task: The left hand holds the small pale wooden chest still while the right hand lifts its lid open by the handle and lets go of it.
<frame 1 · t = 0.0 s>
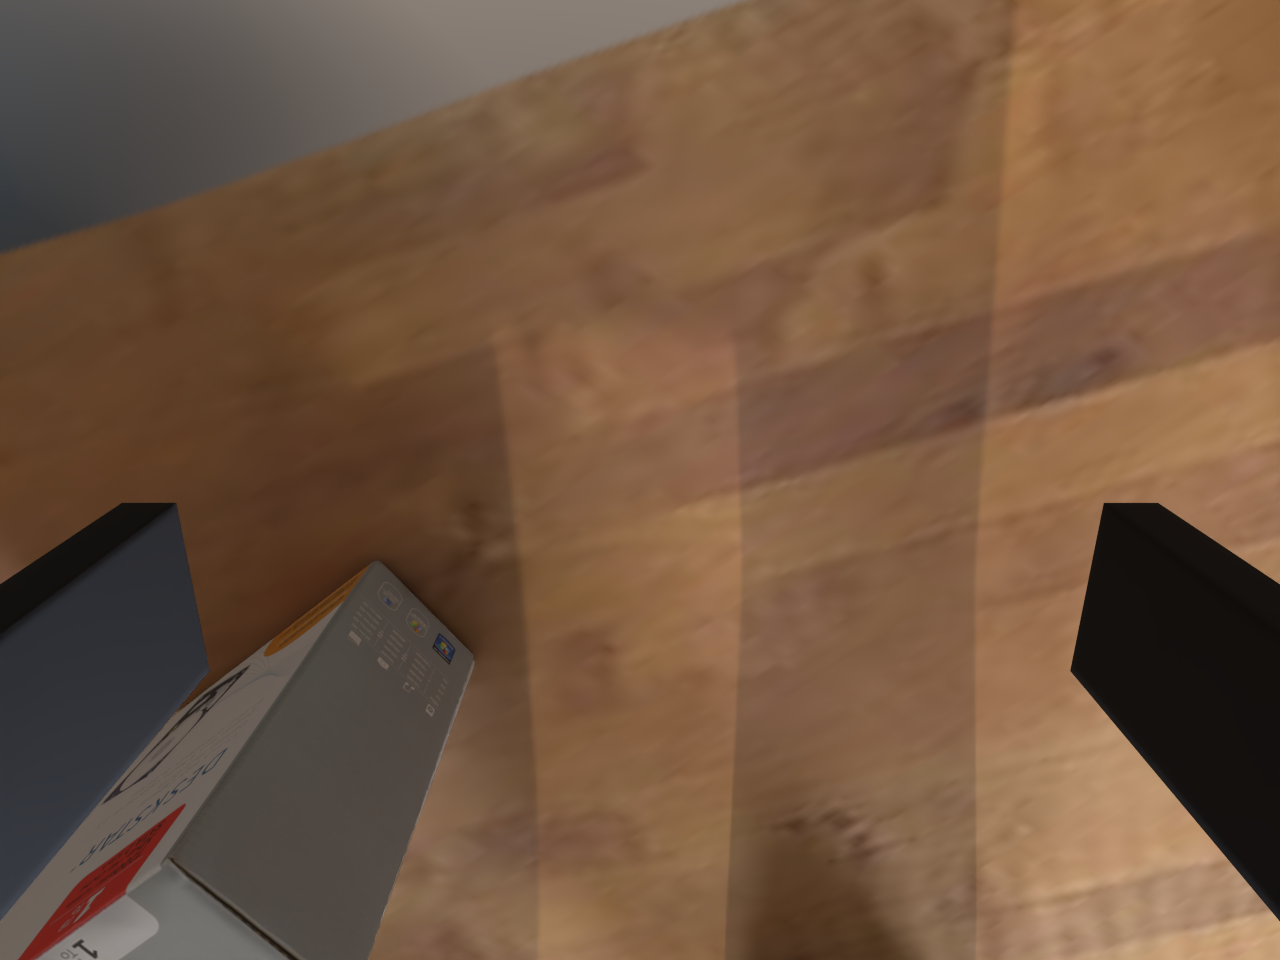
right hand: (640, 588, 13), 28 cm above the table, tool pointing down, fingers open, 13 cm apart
hard drive box: (323, 684, 46), on the table
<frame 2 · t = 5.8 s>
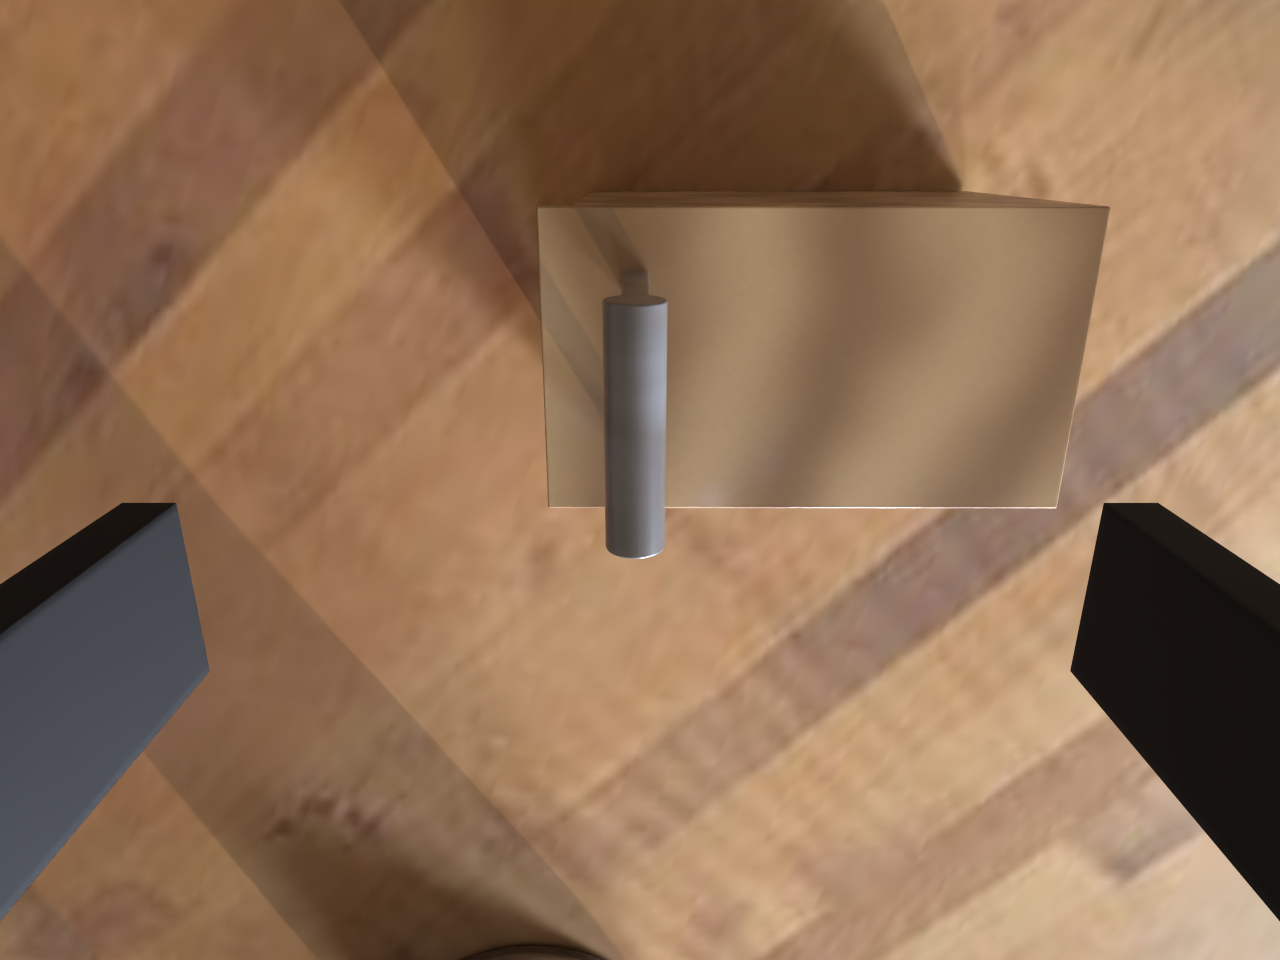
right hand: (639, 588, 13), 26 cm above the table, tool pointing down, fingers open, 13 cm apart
chest: (773, 305, 37), on the table
lid: (833, 393, 23), point 14 cm above the table, hinge at 0.0°
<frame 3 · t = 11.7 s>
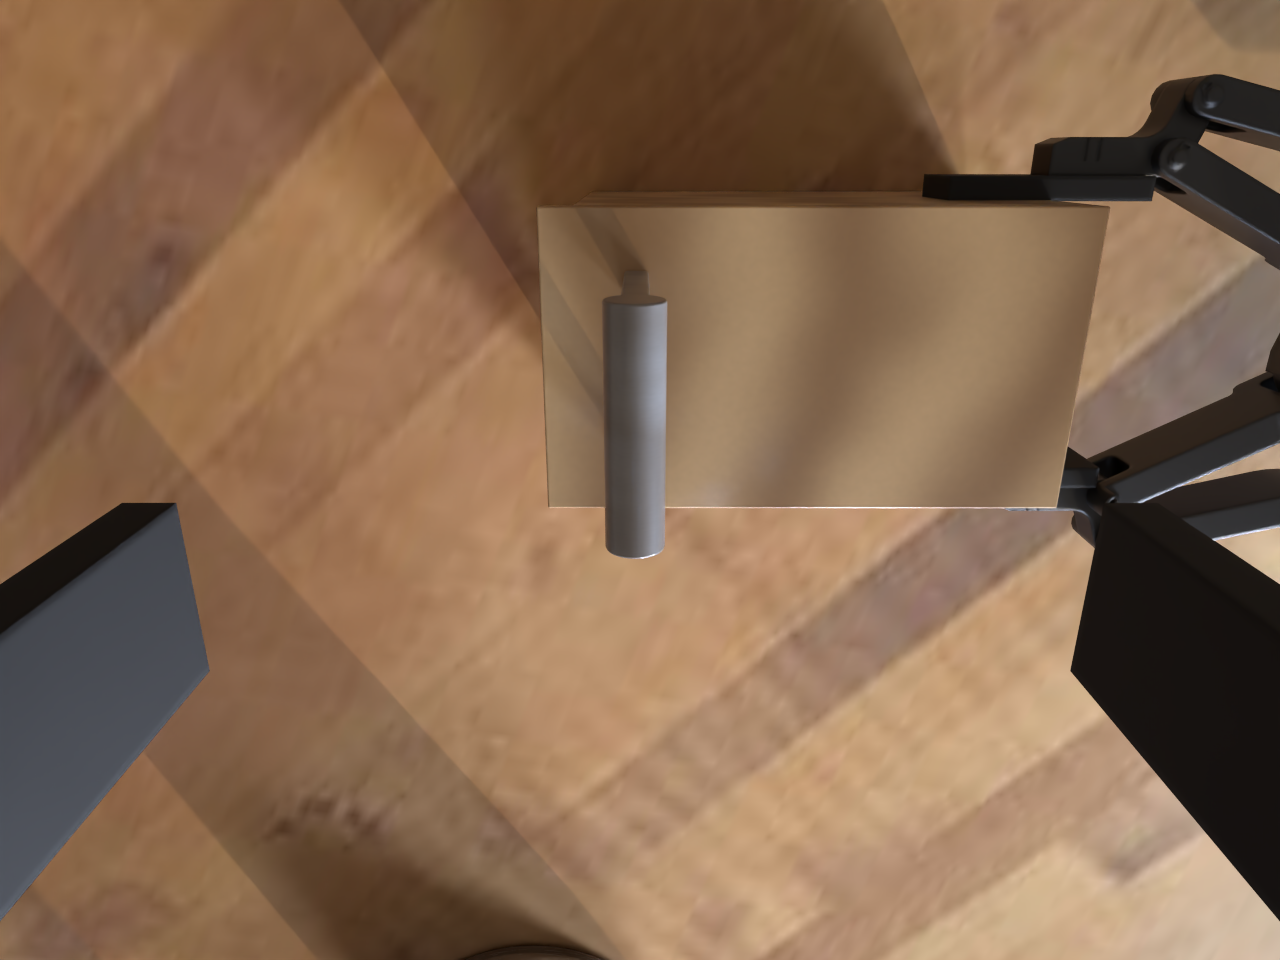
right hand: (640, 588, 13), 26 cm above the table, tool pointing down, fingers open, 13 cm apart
left hand: (919, 334, 31), fingers closed on chest, 9 cm apart
chest: (773, 305, 37), on the table, touching left hand
lid: (833, 393, 23), point 14 cm above the table, hinge at 0.0°
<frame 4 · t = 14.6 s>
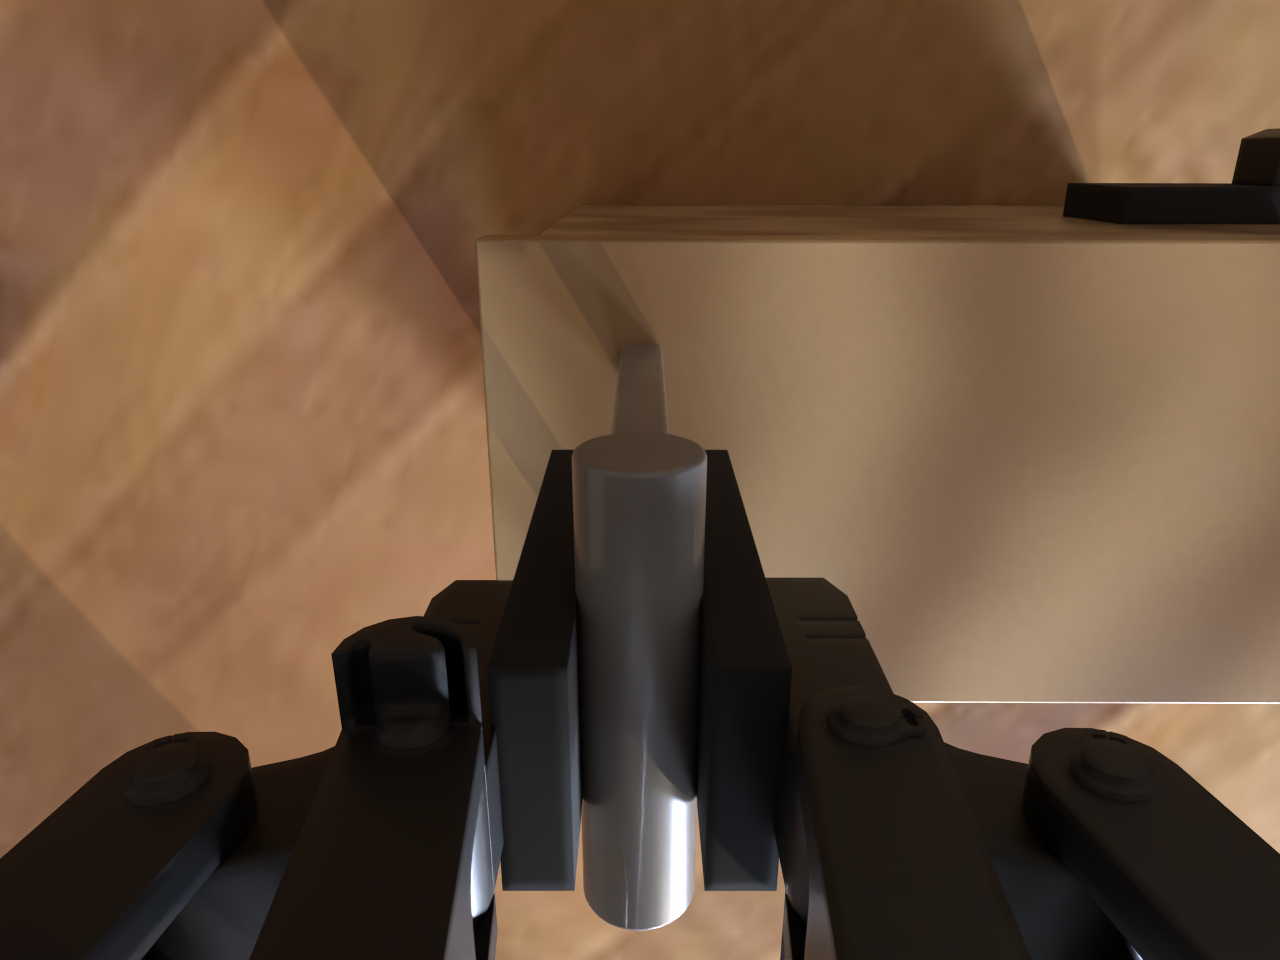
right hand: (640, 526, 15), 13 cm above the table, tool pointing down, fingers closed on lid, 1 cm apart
chest: (827, 360, 27), on the table, touching left hand
lid: (985, 568, 13), point 14 cm above the table, hinge at 0.0°, touching right hand
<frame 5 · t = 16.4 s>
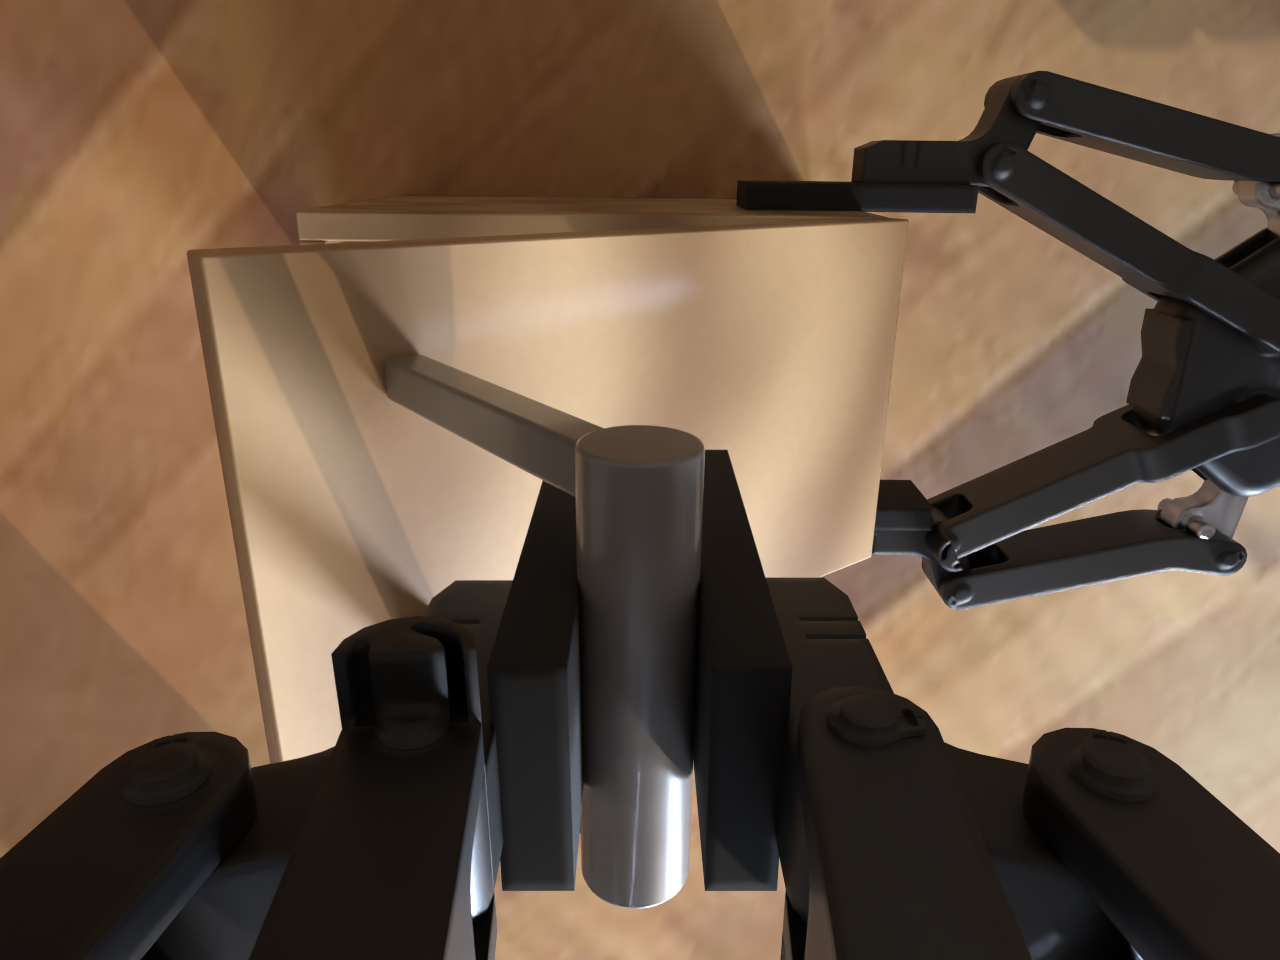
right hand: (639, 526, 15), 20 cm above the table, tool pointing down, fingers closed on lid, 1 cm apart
left hand: (733, 358, 28), fingers closed on chest, 9 cm apart
chest: (608, 321, 33), on the table, touching left hand
lid: (754, 501, 16), point 19 cm above the table, hinge at 38.0°, touching right hand
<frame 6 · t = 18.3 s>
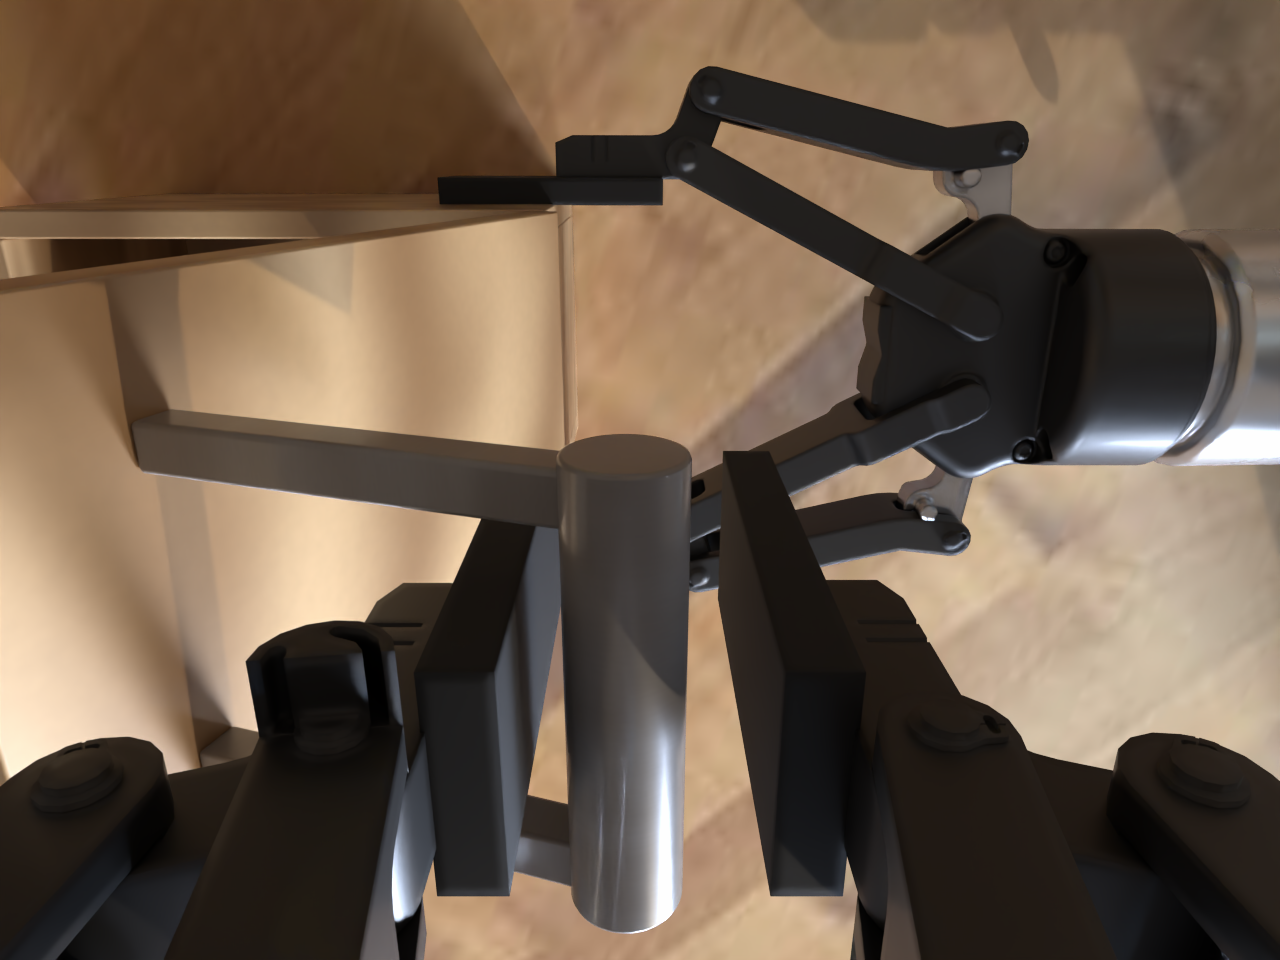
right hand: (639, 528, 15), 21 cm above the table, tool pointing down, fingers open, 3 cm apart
left hand: (459, 349, 28), fingers closed on chest, 9 cm apart
chest: (382, 315, 34), on the table, touching left hand
lid: (549, 502, 16), point 20 cm above the table, hinge at 71.8°
when the left hand's fingers open (6 cm above the table, at t = 22.2 s): chest stays where it is, on the table.
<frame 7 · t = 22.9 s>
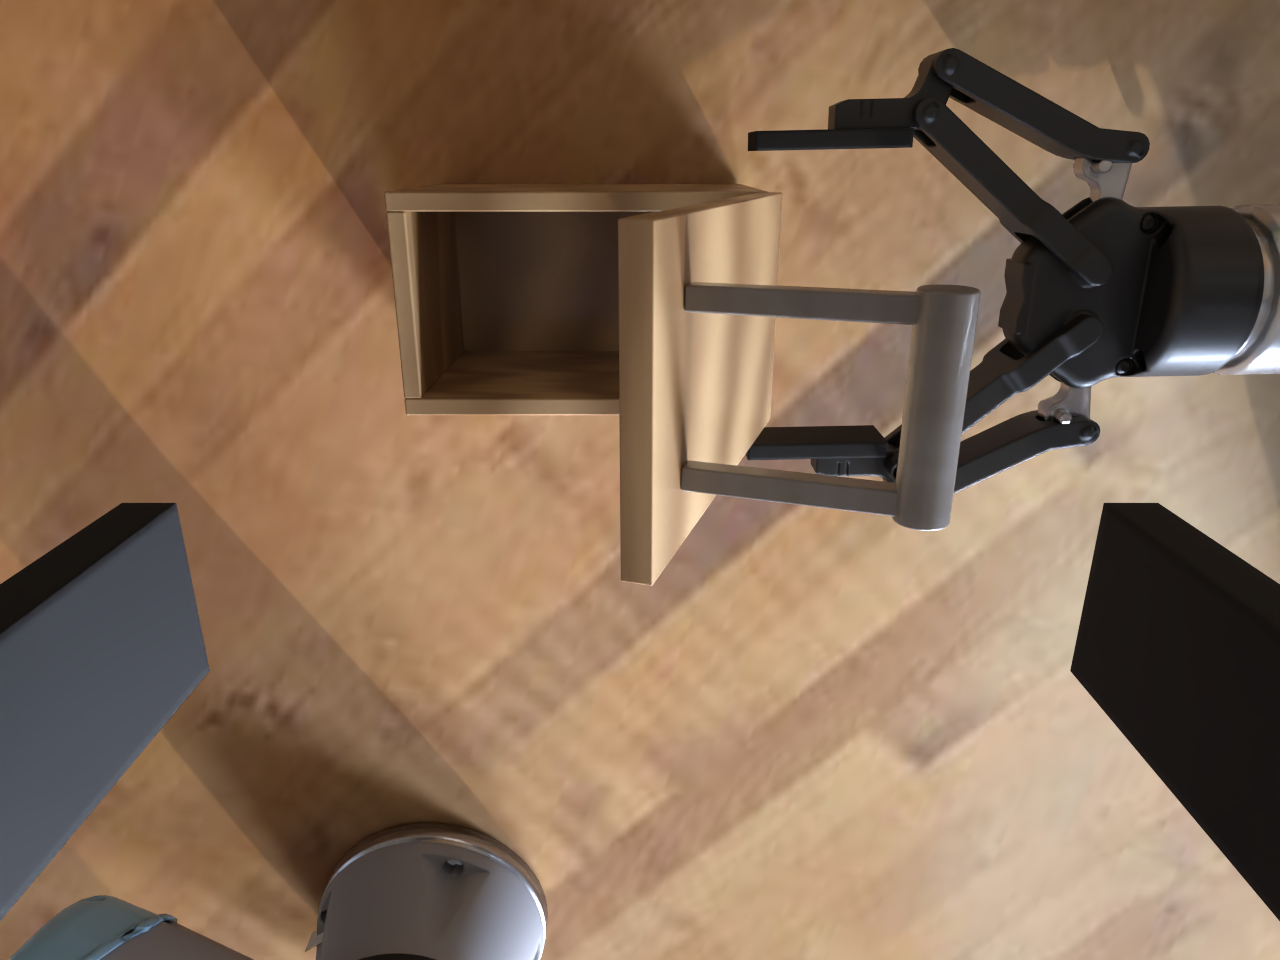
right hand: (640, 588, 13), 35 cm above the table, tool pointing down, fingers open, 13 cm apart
left hand: (746, 301, 40), fingers open, 13 cm apart
chest: (592, 275, 45), on the table
lid: (827, 357, 27), point 20 cm above the table, hinge at 71.2°
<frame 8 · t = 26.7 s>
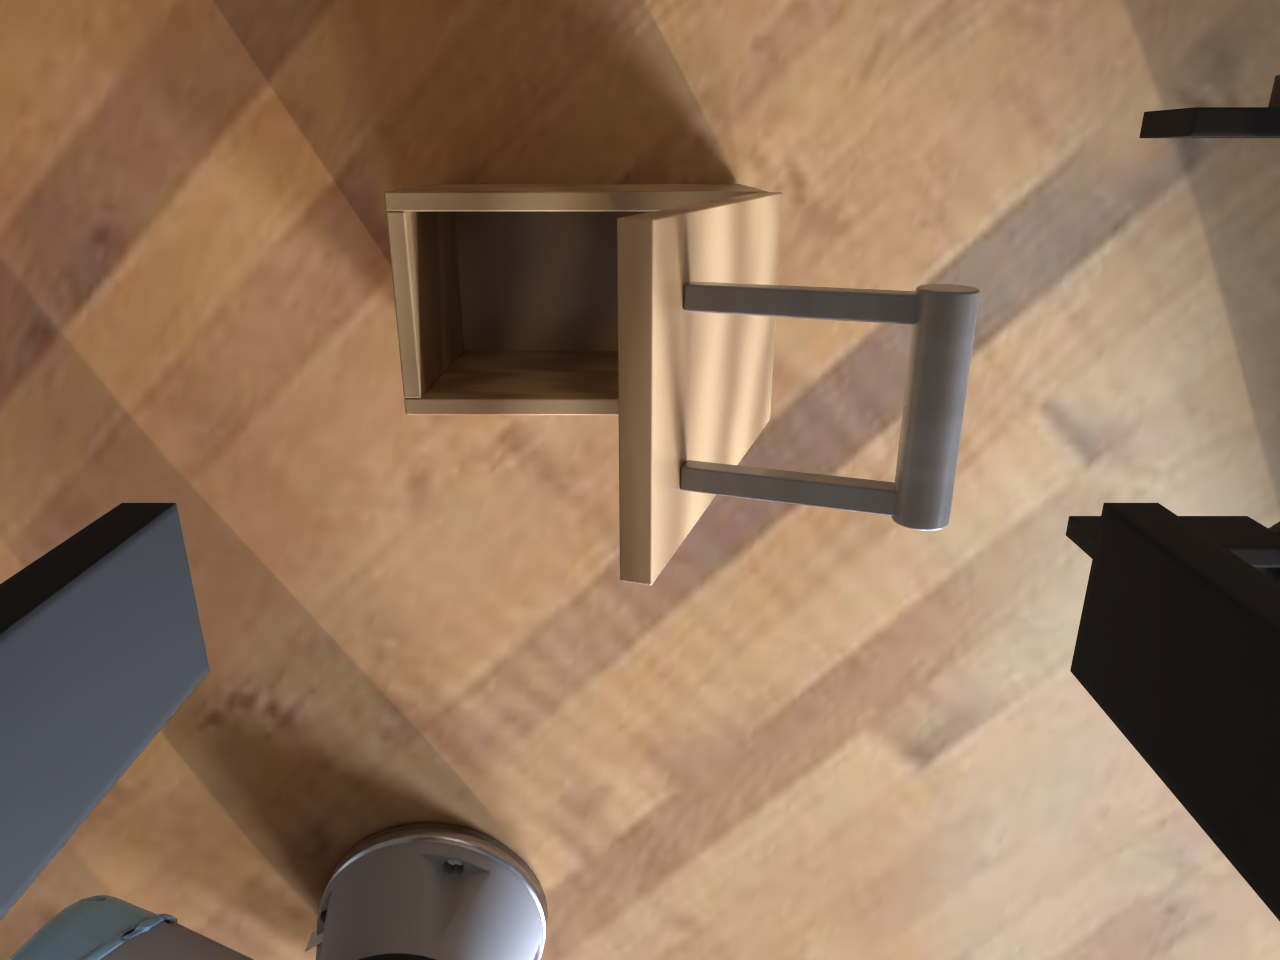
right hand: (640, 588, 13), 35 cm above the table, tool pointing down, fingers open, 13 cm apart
chest: (592, 275, 45), on the table
lid: (827, 357, 27), point 20 cm above the table, hinge at 71.2°
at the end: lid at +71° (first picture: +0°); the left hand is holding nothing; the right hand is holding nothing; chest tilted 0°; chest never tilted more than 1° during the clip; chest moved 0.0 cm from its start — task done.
